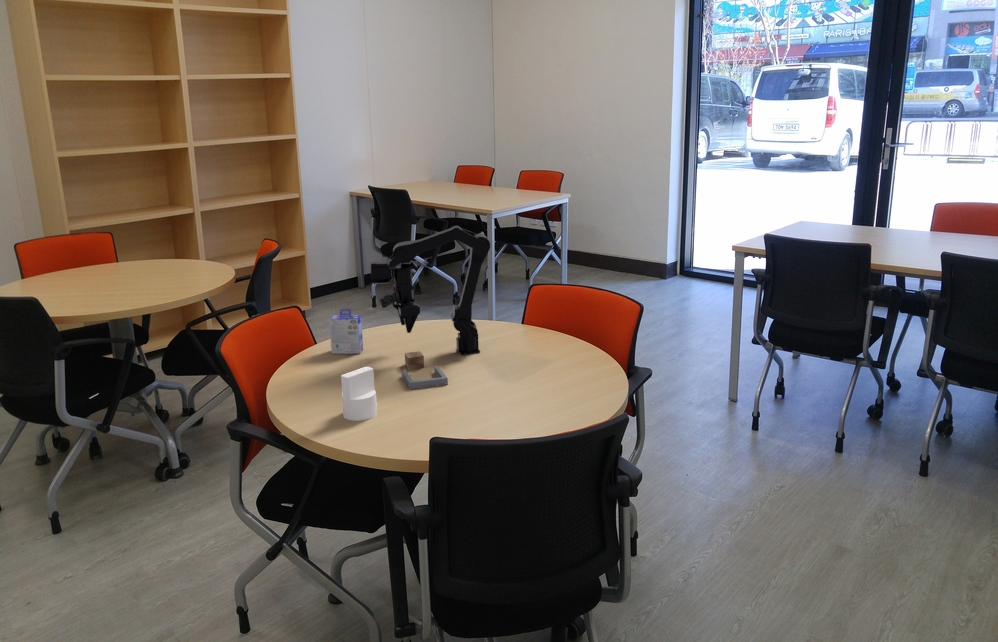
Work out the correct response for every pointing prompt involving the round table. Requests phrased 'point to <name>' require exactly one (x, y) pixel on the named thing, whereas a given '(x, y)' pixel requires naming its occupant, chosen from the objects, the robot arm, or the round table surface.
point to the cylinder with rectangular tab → (359, 394)
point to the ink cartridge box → (346, 333)
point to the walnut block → (414, 360)
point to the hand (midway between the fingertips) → (406, 328)
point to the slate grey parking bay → (426, 380)
